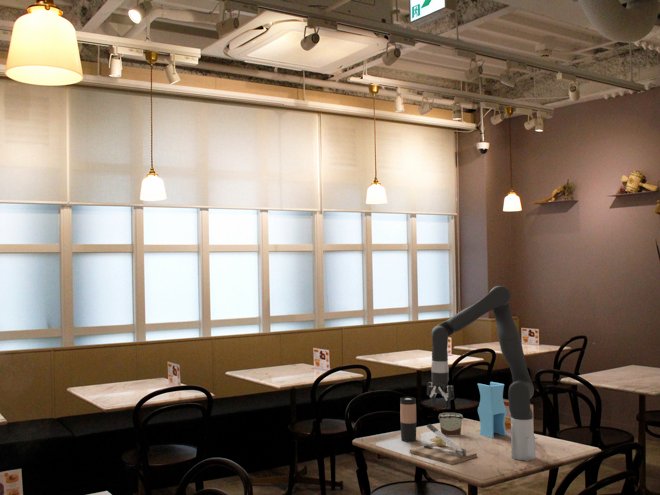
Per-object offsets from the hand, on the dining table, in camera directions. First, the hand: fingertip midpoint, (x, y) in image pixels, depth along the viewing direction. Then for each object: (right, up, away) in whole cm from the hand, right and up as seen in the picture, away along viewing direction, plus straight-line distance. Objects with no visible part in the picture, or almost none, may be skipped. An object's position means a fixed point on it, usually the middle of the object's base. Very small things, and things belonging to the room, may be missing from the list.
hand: (440, 407), depth 292 cm
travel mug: (-11, -22, +24) cm, 34 cm away
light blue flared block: (+31, -22, +32) cm, 50 cm away
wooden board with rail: (+1, -20, -3) cm, 20 cm away
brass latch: (0, -19, +6) cm, 20 cm away
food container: (+11, -22, +35) cm, 42 cm away
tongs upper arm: (+1, -13, -3) cm, 14 cm away
